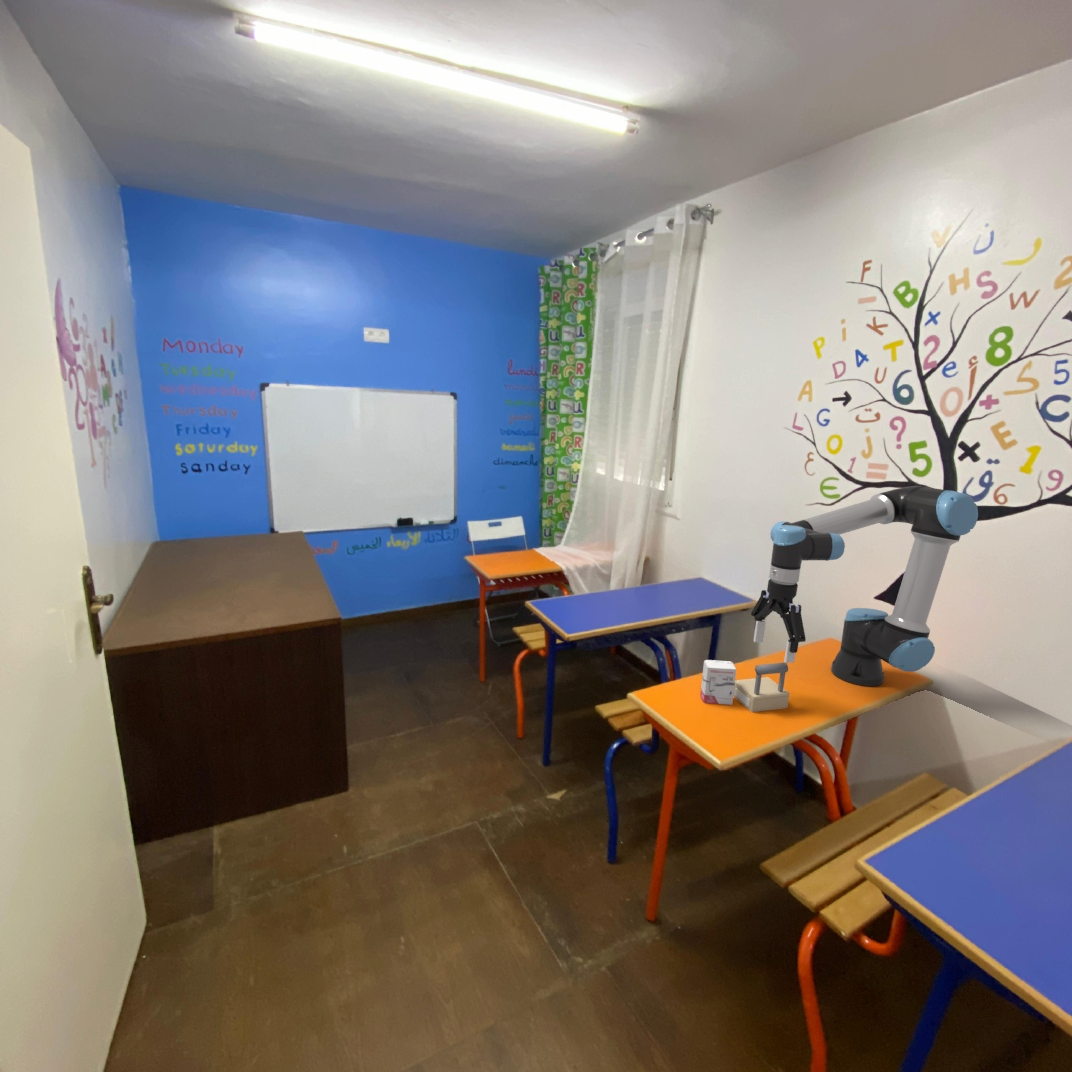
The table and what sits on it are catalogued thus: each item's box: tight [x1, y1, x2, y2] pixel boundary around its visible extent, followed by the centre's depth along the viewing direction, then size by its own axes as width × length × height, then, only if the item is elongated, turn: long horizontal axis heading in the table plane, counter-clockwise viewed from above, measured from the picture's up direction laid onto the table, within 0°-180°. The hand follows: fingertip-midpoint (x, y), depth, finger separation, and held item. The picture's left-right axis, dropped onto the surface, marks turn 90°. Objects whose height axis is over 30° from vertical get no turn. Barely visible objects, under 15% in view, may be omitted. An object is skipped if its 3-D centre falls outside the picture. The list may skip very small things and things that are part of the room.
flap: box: [735, 662, 790, 700], centre depth 159 cm, size 12×10×10 cm
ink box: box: [700, 659, 737, 706], centre depth 160 cm, size 9×5×12 cm, turn 85°
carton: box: [733, 685, 790, 713], centre depth 160 cm, size 12×10×4 cm
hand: (772, 651), depth 153 cm, fingers open, 13 cm apart
